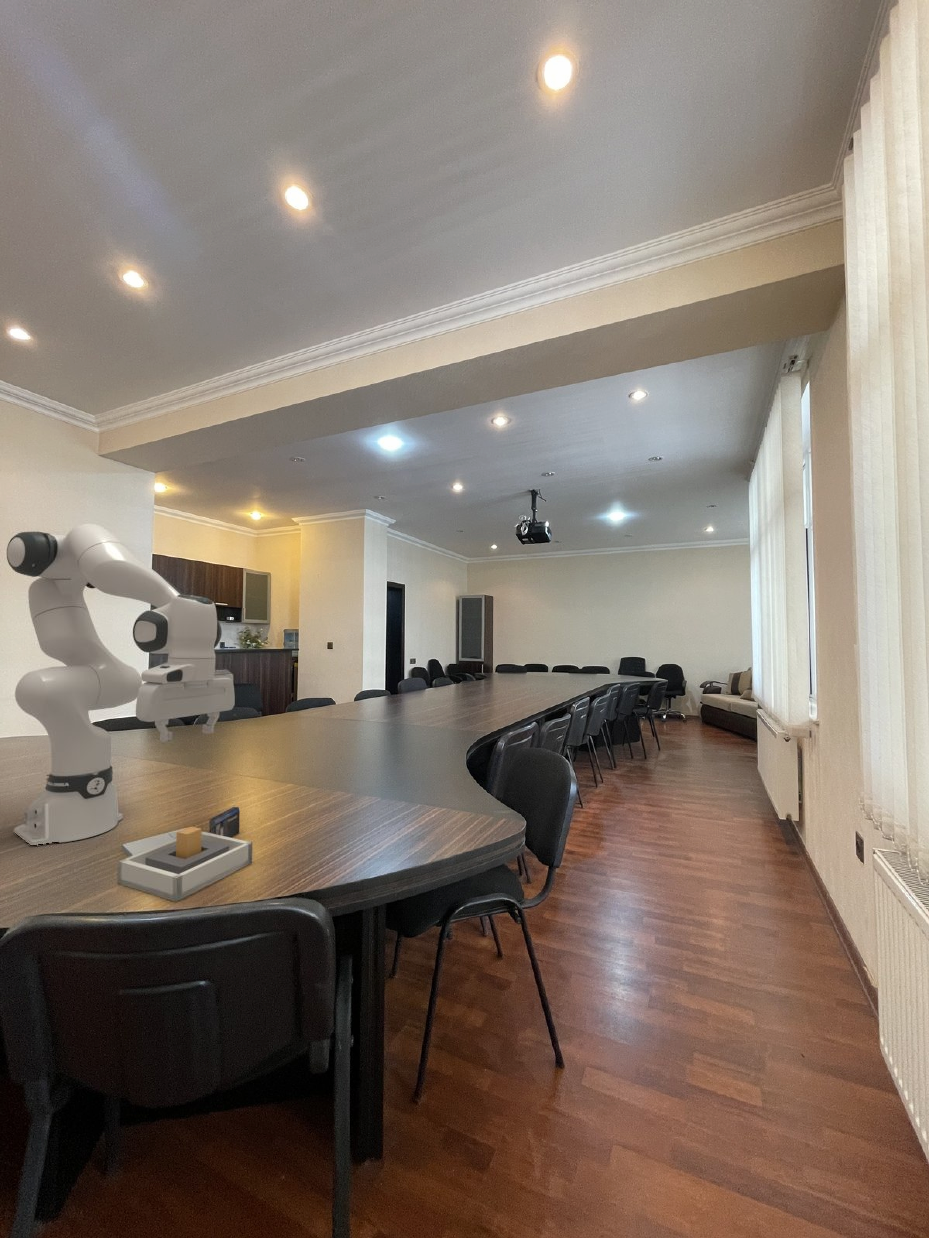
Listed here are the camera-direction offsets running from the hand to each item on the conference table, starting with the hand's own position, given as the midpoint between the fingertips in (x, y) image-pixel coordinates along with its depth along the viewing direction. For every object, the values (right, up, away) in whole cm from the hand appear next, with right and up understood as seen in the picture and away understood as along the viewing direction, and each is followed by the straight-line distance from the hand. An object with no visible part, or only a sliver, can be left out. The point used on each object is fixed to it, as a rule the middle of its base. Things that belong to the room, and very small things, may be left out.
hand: (187, 736), depth 102 cm
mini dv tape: (+5, -25, +6) cm, 26 cm away
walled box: (+5, -24, -9) cm, 26 cm away
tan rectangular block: (+5, -23, -9) cm, 25 cm away
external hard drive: (-8, -25, +4) cm, 27 cm away
